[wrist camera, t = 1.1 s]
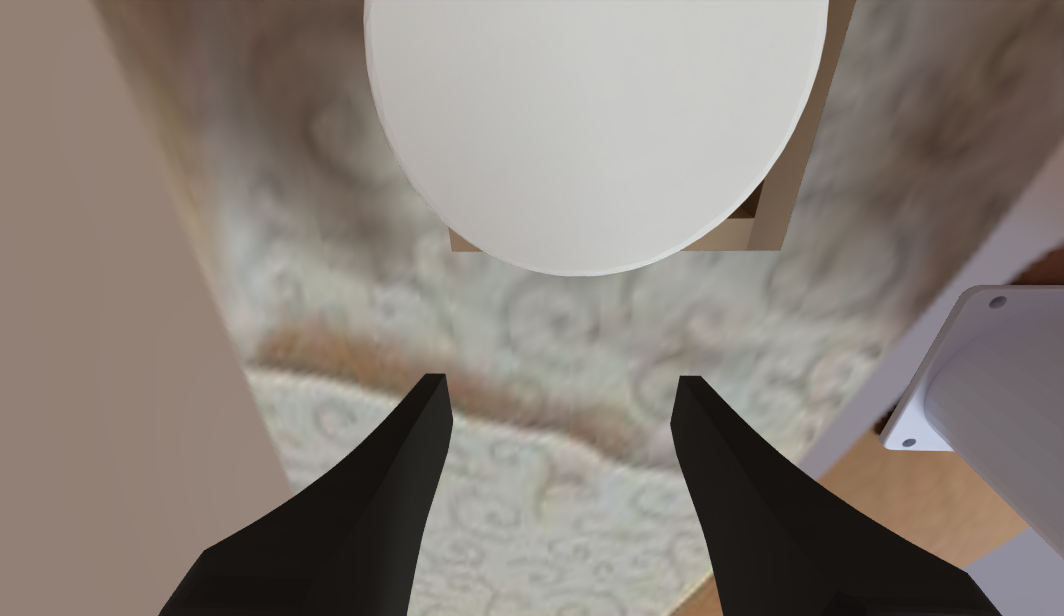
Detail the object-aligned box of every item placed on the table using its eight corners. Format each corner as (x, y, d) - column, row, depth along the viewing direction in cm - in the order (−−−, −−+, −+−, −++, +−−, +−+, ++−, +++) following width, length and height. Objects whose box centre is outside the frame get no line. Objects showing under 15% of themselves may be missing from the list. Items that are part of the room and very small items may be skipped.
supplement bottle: (511, 184, 14) (444, 379, 5) (439, -8, 11) (110, -184, 3) (677, 125, 13) (912, 259, 4) (638, -103, 10) (1026, -837, 2)
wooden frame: (872, -215, 9) (937, -271, 7) (755, 228, 14) (780, 250, 13) (414, -188, 10) (387, -234, 8) (462, 230, 15) (452, 251, 13)
